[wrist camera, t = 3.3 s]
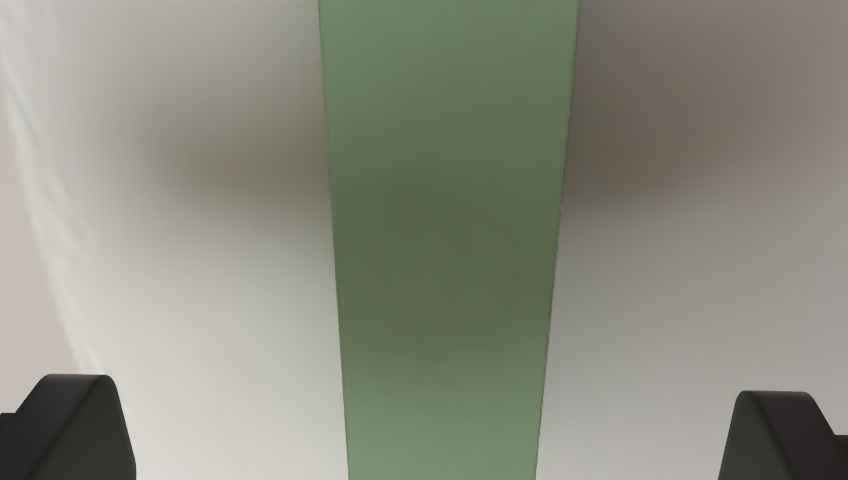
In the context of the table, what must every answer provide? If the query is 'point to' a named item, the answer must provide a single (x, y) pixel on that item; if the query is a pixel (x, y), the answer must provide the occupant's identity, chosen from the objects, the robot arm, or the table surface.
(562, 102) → the bar
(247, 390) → the table surface
